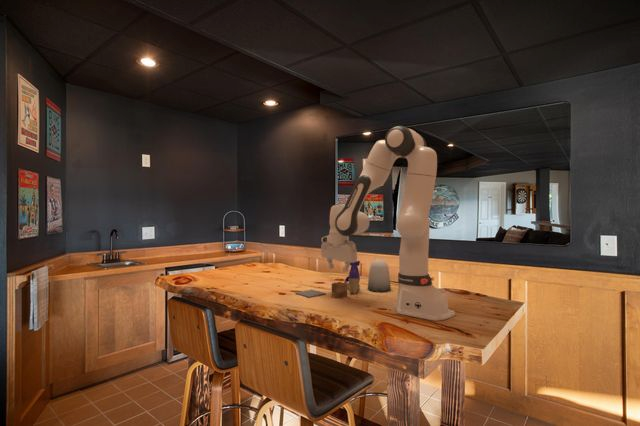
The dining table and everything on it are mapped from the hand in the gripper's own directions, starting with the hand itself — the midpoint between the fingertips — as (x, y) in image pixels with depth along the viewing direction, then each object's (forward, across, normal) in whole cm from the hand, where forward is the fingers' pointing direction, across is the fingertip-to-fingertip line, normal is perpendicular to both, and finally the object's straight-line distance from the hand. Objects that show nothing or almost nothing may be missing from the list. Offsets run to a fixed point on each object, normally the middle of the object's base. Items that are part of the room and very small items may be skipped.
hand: (338, 269), depth 164 cm
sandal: (+12, +5, -14) cm, 20 cm away
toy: (+12, -4, -24) cm, 27 cm away
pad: (+12, +11, +7) cm, 18 cm away
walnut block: (+12, -1, 0) cm, 12 cm away
